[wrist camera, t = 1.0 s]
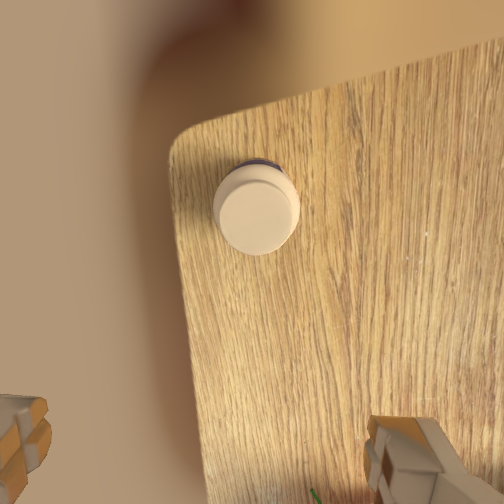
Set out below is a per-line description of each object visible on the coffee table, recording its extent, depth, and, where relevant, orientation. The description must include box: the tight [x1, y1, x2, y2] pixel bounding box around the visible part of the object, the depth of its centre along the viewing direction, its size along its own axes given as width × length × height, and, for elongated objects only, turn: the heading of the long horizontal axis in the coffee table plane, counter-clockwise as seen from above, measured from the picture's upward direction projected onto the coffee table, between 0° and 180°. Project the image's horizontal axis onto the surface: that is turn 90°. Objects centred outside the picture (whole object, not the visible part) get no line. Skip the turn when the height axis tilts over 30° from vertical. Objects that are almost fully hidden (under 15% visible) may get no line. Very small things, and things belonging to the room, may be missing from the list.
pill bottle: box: [213, 158, 300, 256], centre depth 23 cm, size 5×5×9 cm
